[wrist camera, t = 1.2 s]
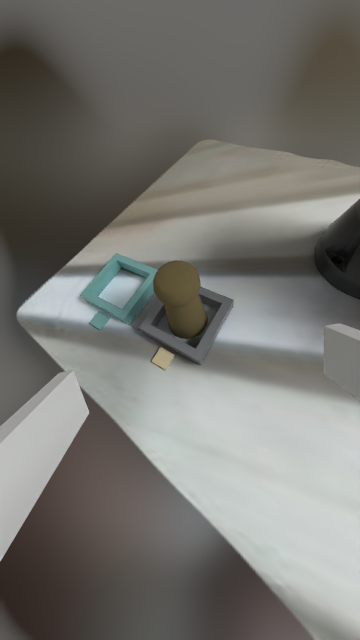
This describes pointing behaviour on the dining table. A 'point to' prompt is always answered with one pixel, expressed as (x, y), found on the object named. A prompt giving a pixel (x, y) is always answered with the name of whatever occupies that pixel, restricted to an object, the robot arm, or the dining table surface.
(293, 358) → the dining table surface
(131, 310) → the panel
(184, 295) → the cork
